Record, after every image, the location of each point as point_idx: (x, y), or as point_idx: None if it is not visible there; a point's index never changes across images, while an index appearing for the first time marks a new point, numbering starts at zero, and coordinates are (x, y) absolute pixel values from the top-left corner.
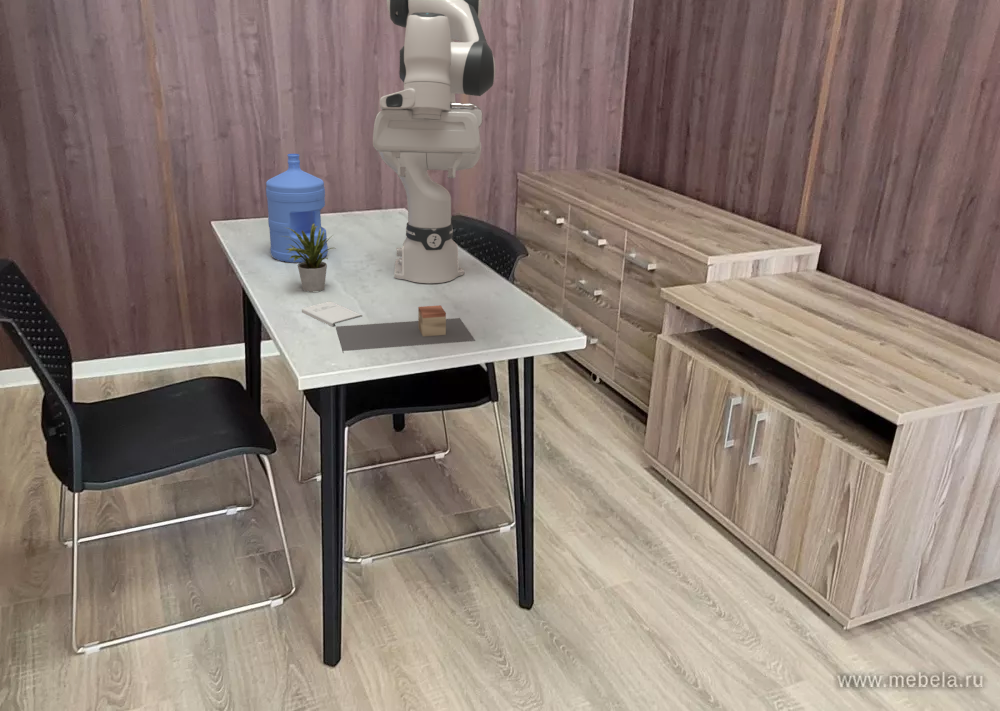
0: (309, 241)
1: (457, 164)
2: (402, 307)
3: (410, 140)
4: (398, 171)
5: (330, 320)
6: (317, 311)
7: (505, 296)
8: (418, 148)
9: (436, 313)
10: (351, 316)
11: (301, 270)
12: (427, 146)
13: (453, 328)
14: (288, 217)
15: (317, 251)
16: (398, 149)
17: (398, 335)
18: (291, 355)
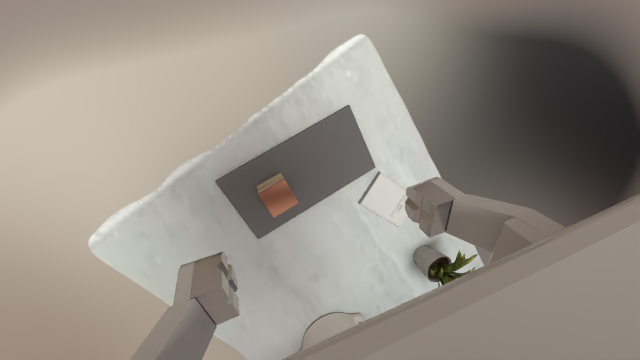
0: None
1: (153, 332)
2: (329, 246)
3: (573, 329)
4: (445, 183)
5: (384, 177)
6: (402, 195)
7: (231, 324)
8: (453, 296)
9: (269, 189)
10: (368, 195)
11: (444, 255)
12: (401, 346)
13: (254, 207)
14: None
15: (445, 277)
16: (557, 236)
17: (307, 165)
18: (393, 85)
